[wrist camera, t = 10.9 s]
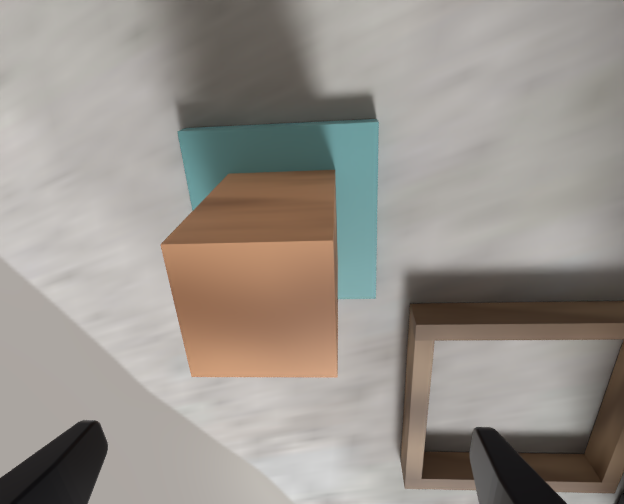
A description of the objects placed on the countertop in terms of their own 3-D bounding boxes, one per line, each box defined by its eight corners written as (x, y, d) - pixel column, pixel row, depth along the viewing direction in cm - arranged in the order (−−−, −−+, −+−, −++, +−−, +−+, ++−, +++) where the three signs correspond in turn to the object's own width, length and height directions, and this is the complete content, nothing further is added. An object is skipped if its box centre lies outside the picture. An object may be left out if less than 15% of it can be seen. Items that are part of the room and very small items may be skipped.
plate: (374, 288, 22) (375, 298, 21) (215, 291, 23) (209, 300, 22) (376, 118, 18) (378, 122, 17) (185, 128, 19) (177, 131, 18)
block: (337, 266, 21) (337, 377, 13) (242, 267, 21) (191, 376, 14) (335, 169, 18) (333, 240, 11) (228, 173, 19) (160, 244, 12)
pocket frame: (596, 464, 27) (614, 493, 25) (400, 461, 28) (404, 488, 26) (656, 300, 21) (686, 322, 20) (410, 303, 22) (416, 325, 21)
